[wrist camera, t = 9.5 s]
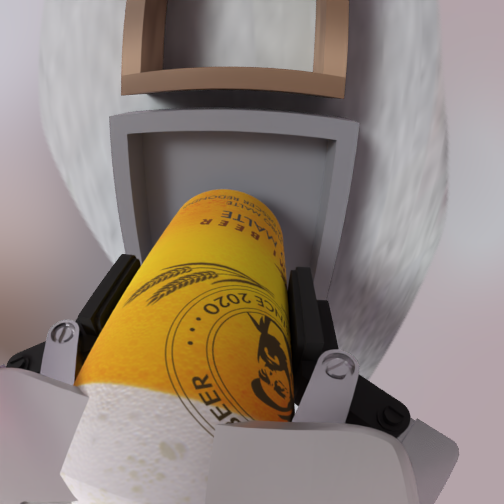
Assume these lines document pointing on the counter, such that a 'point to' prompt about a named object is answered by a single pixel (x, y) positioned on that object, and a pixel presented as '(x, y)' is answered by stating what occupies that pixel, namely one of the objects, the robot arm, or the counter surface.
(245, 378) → the beer can
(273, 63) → the counter surface
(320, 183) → the tray
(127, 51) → the collar
